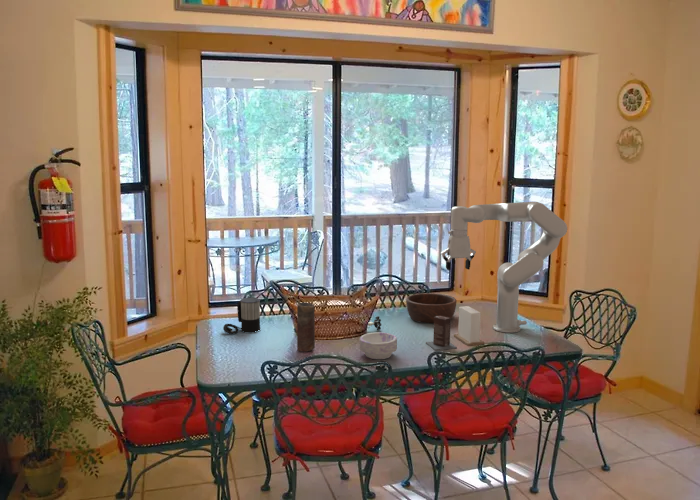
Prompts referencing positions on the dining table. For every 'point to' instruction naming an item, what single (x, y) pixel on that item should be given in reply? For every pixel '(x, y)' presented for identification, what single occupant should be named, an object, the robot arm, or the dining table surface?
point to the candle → (305, 327)
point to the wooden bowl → (430, 306)
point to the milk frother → (246, 316)
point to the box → (441, 331)
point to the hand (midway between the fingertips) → (458, 269)
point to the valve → (376, 323)
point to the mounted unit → (469, 326)
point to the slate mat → (438, 347)
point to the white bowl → (378, 345)
